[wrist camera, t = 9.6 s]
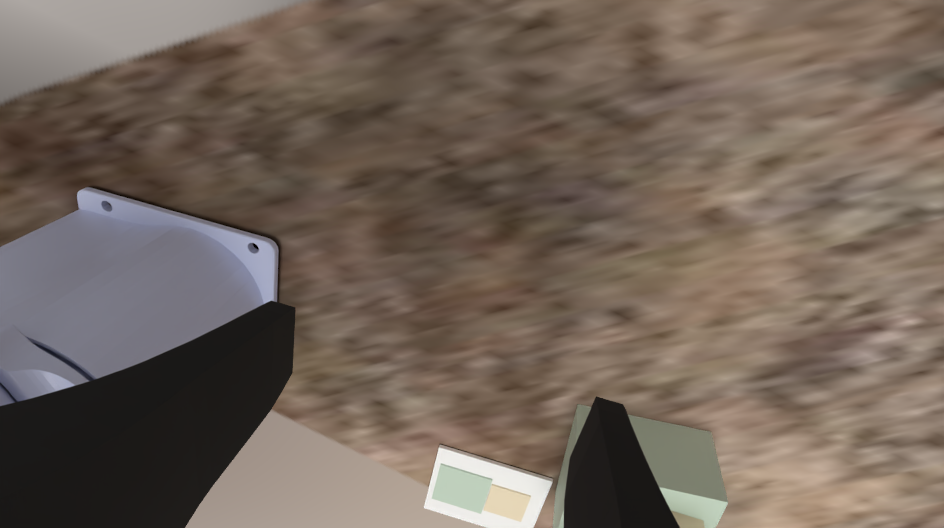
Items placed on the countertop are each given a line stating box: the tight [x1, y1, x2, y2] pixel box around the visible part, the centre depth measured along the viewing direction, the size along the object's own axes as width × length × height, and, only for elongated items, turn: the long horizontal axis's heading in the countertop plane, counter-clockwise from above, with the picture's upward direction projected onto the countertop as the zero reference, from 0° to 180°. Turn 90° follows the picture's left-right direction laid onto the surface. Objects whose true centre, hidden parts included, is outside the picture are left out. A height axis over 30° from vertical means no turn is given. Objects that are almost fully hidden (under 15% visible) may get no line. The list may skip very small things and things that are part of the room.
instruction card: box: [424, 444, 553, 528], centre depth 30 cm, size 6×5×1 cm
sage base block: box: [553, 404, 728, 528], centre depth 25 cm, size 6×6×4 cm
